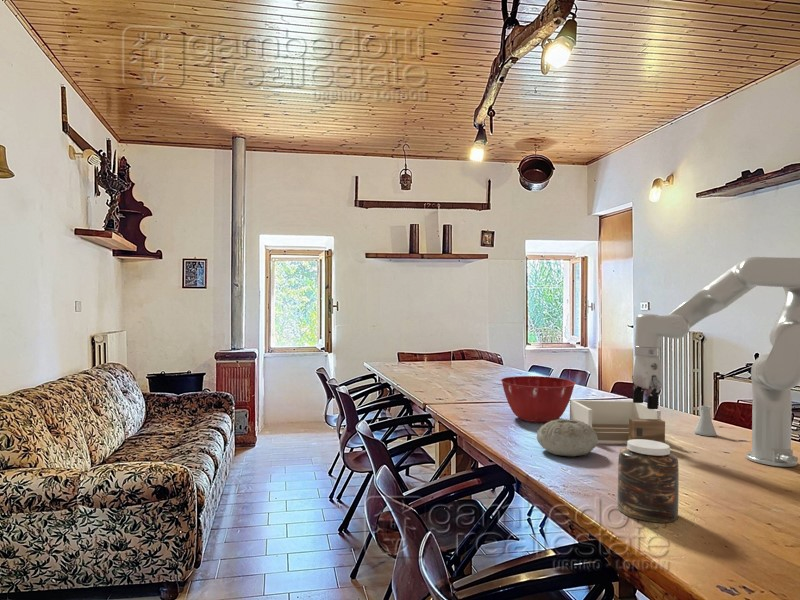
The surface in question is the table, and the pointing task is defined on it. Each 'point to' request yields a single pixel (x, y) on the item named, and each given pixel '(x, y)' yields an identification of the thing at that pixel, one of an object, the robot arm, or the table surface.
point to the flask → (705, 423)
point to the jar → (648, 481)
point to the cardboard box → (647, 429)
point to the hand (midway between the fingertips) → (645, 405)
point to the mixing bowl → (537, 397)
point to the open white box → (610, 417)
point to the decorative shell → (567, 437)
